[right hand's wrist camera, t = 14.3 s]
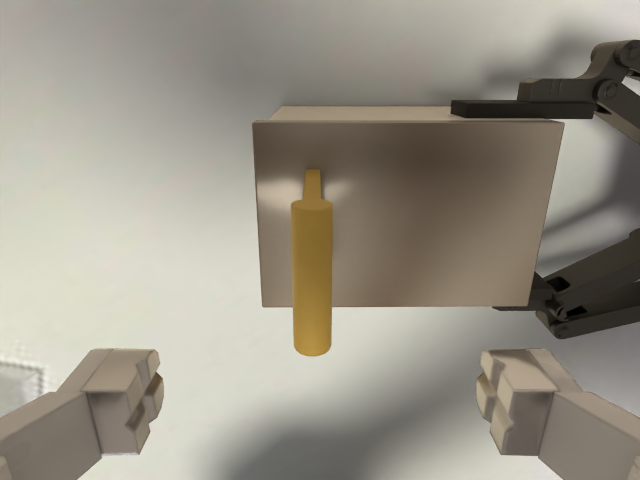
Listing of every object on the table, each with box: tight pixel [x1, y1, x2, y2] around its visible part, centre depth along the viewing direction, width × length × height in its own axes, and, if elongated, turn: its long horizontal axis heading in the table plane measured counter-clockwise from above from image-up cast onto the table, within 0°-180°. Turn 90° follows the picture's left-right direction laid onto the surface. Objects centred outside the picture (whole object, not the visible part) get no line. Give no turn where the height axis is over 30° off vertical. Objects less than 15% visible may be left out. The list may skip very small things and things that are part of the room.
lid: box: [252, 120, 564, 356], centre depth 19 cm, size 15×10×8 cm
